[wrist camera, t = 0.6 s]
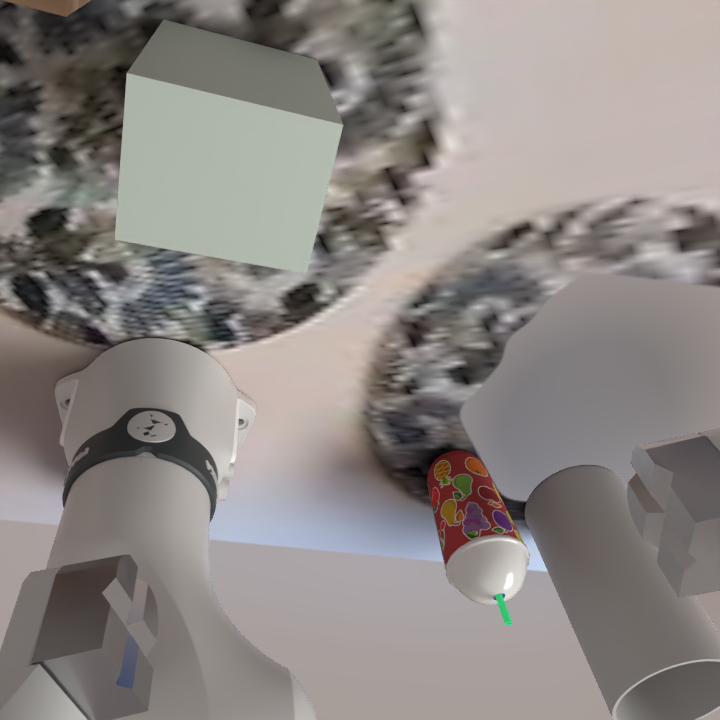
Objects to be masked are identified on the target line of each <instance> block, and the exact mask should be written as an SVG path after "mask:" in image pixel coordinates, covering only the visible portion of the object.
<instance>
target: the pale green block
mask: <svg viewBox="0 0 720 720" xmlns="http://www.w3.org/2000/svg"><path fill="white" fill-rule="evenodd" d="M342 128H343V123H342V121H341V118H340V116H339V113H338V111H337V108H336V106H335V103H334V101H333V98H332V96H331V94H330V91H329V89H328V86H327V84H326V81H325V79H324V76H323V74H322V71H321V69H320V67H319V64H318V62H317V60H316V59H312V58H309V57H305V56H301V55H297V54H293V53H290V52H286V51H282V50H278V49H274V48H271V47H267V46H263V45H259V44H255V43H252V42H248V41H244V40H240V39H236V38H233V37H229V36H225V35H221V34H217V33H214V32H210V31H206V30H202V29H198V28H195V27H191V26H187V25H183V24H179V23H176V22H172V21H168V20H163V21H162V23H161V24H160V26H159V27H158V28H157V30H156V31H155V33H154V34H153V36H152V37H151V39H150V40H149V41H148V43H147V44H146V46H145V47H144V49H143V50H142V52H141V53H140V55H139V56H138V57H137V59H136V60H135V62H134V63H133V65H132V66H131V68H130V69H129V70H128V72H127V76H126V90H125V104H124V118H123V132H122V146H121V160H120V174H119V188H118V202H117V216H116V230H115V240H120V241H125V242H131V243H137V244H142V245H148V246H154V247H159V248H165V249H170V250H176V251H182V252H187V253H193V254H199V255H204V256H210V257H216V258H221V259H227V260H233V261H238V262H244V263H250V264H255V265H261V266H267V267H272V268H278V269H283V270H289V271H295V272H300V273H306V274H307V270H308V266H309V262H310V258H311V253H312V249H313V245H314V241H315V237H316V233H317V229H318V225H319V221H320V217H321V213H322V209H323V205H324V201H325V197H326V193H327V189H328V185H329V181H330V177H331V173H332V168H333V164H334V160H335V156H336V152H337V148H338V144H339V140H340V136H341V132H342Z"/></svg>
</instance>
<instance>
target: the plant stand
mask: <svg viewBox="0 0 720 720" xmlns="http://www.w3.org/2000/svg"><path fill="white" fill-rule="evenodd" d="M2 1H6V2H10V3H14V4H18V5H22V6H26V7H30V8H34V9H38V10H41V11H45V12H49V13H53V14H57V15H61V16H65V17H67V16H68V15H70V14H71V13H73V12H74V11H76V10H77V9H79V8H80V7H82V6H83V5H85V4H86V3H88V2H89V1H91V0H2Z"/></svg>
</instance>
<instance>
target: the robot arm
mask: <svg viewBox="0 0 720 720" xmlns="http://www.w3.org/2000/svg"><path fill="white" fill-rule="evenodd" d="M54 393H55V398H56V402H57V407H58V411H59V415H60V419H61V423H62V427H63V428H62V432H61V436H60V445H61V446H63V447H64V452H65V456H66V460H67V462H68V465H69V469H68V471H67V474H66V478H65V482H64V486H65V487H64V492H63V498H62V499H63V507H64V510H63V514H62V517H61V520H60V524H59V527H58V530H57V534H56V537H55V540H54V544H53V547H52V550H51V553H50V557H49V560H48V563H47V568H46V570H40V571H35V572H31V573H30V574H29V575H28V576H27V578H26V579H25V580H24V582H23V583H22V586H21V589H20V592H19V596H18V598H17V601H16V605H15V608H14V610H13V613H12V617H11V620H10V623H9V626H8V629H7V632H6V635H5V638H4V641H3V644H2V647H1V650H0V720H317V717H316V714H315V711H314V708H313V705H312V703H311V701H310V699H309V697H308V695H307V693H306V691H305V690H304V688H303V687H302V685H301V684H300V683H299V681H298V680H297V679H296V677H295V676H294V675H293V674H292V673H291V672H290V671H289V670H288V669H287V668H286V667H284V666H282V665H280V664H279V663H277V662H275V661H274V660H272V659H271V658H269V657H267V656H266V655H265V654H263V653H262V652H261V651H260V650H258V649H257V648H256V647H255V646H253V645H252V644H251V643H250V642H249V641H248V640H247V639H246V638H245V637H244V636H243V635H242V634H241V633H240V631H239V630H238V629H237V628H236V627H235V625H234V624H233V623H232V622H231V620H230V619H229V617H228V616H227V614H226V613H225V611H224V610H223V608H222V606H221V604H220V603H219V600H218V598H217V596H216V593H215V591H214V588H213V584H212V580H211V573H210V558H209V525H210V521H211V520H212V518H213V515H214V512H215V507H216V504H217V500H218V501H224V500H225V498H226V496H227V493H228V488H229V479H227V478H231V477H232V475H233V472H234V464H232V463H233V462H234V461H235V457H236V454H237V452H238V451H239V449H240V447H241V445H242V443H243V441H244V439H245V437H246V435H247V433H248V431H249V429H250V427H251V425H252V423H253V421H254V419H255V416H256V410H257V408H256V405H255V404H254V402H253V401H252V400H250V399H249V398H248V397H247V396H245V395H244V394H242V393H241V392H240V391H238V390H237V389H236V388H235V386H234V385H233V383H232V382H231V380H230V378H229V377H228V375H227V373H226V372H225V370H224V369H223V368H222V367H221V366H220V365H219V364H218V363H217V362H216V361H215V360H214V359H213V358H212V357H210V356H209V355H208V354H206V353H205V352H203V351H201V350H199V349H197V348H195V347H193V346H191V345H188V344H185V343H182V342H178V341H174V340H169V339H160V338H146V339H137V340H132V341H128V342H124V343H121V344H119V345H116V346H114V347H112V348H110V349H108V350H107V351H105V352H104V353H102V354H101V355H100V356H98V357H97V358H96V359H95V360H94V361H93V362H92V363H91V364H90V365H89V366H88V367H86V368H85V369H84V370H82V371H79V372H76V373H73V374H70V375H68V376H65V377H63V378H61V379H60V380H59V381H58V382H57V383H56V386H55V392H54ZM68 399H71V400H70V401H69V400H68ZM239 419H243V420H242V421H239ZM631 465H632V467H633V468H634V470H635V471H636V474H635V475H634V477H633V478H632V479H631V480H630V481H629V482H628V489H627V500H628V505H629V510H630V514H631V517H632V519H633V521H634V524H635V526H636V528H637V530H638V531H639V533H640V535H641V537H642V538H643V539H644V540H646V541H647V542H649V543H651V544H652V545H654V546H656V547H658V548H659V551H658V557H657V564H658V565H659V567H660V569H661V570H662V572H663V574H664V575H665V577H666V579H667V580H668V582H669V584H670V585H671V587H672V589H673V590H674V592H675V594H676V595H677V597H678V598H682V597H688V596H693V595H698V594H704V593H709V592H715V591H720V428H719V429H714V430H710V431H704V432H700V433H697V434H695V433H693V434H688V435H684V436H680V437H675V438H670V439H666V440H661V441H657V442H653V443H648V444H643V445H639V446H636V447H635V449H634V450H633V452H632V456H631ZM225 477H226V478H225Z"/></svg>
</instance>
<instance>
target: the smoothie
mask: <svg viewBox="0 0 720 720" xmlns="http://www.w3.org/2000/svg"><path fill="white" fill-rule="evenodd" d="M427 485H428V490H429V495H430V499H431V504H432V509H433V513H434V518H435V523H436V527H437V532H438V536H439V541H440V546H441V550H442V555H443V560H444V564H445V569H446V576H447V578H448V580H449V582H450V584H451V585H453V586H454V587H455V588H457V589H458V590H459V591H460V592H461V593H462V594H463V595H465V596H466V597H467V598H469V599H470V600H472V601H474V602H477V603H480V604H483V605H496V604H498V605H499V608H500V611H501V614H502V617H503V619H504V622H505V625H508V626H509V625H511V624H512V621H511V618H510V615H509V612H508V610H507V607H506V604H505V602H506V601H508V600H510V599H511V598H512V597H514V596H515V595H516V594H517V593H518V592H519V590H520V588H521V587H522V585H523V584H524V582H525V579H526V573H527V566H528V565H529V559H530V554H529V551H528V548H527V546H526V545H525V544H524V543H523V541H522V538H521V536H520V534H519V532H518V530H517V529H516V527H515V525H514V523H513V521H512V519H511V517H510V515H509V513H508V511H507V509H506V507H505V505H504V503H503V501H502V499H501V497H500V495H499V493H498V491H497V489H496V487H495V485H494V483H493V481H492V479H491V477H490V475H489V473H488V471H487V469H486V468H485V466H484V464H483V462H482V461H481V460H480V459H479V458H477V457H475V456H474V455H473V454H472V453H469V452H467V451H462V450H455V451H449V452H447V453H444V454H442V455H441V456H439V457H438V458H436V459H435V461H434V462H433V463H432V464H431V467H430V470H429V474H428V476H427Z"/></svg>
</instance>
